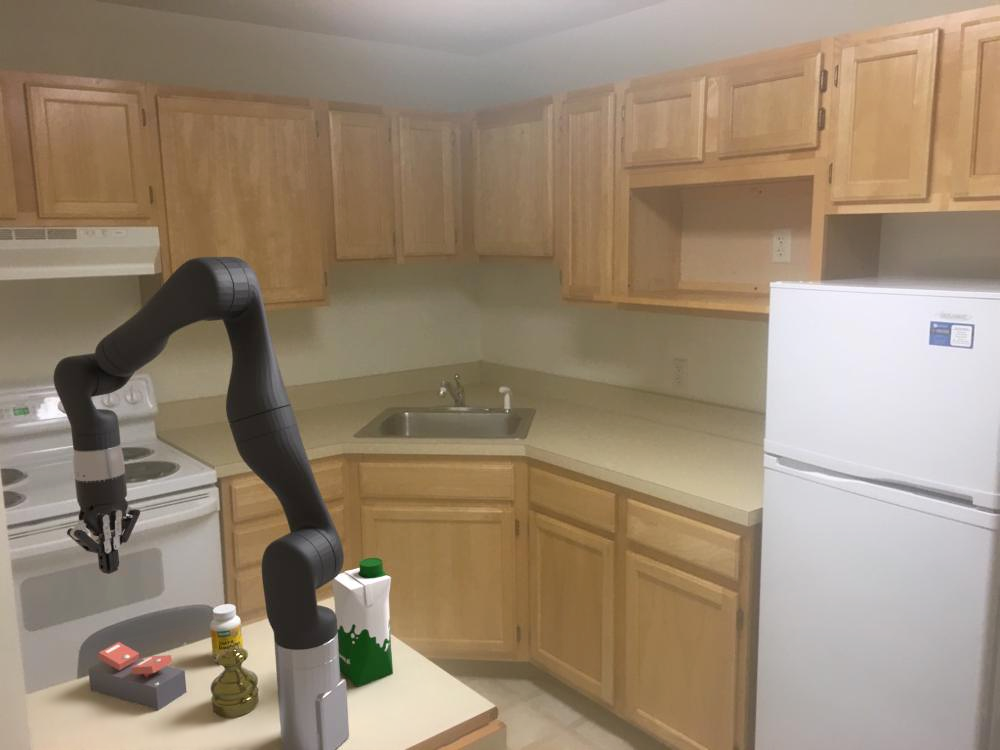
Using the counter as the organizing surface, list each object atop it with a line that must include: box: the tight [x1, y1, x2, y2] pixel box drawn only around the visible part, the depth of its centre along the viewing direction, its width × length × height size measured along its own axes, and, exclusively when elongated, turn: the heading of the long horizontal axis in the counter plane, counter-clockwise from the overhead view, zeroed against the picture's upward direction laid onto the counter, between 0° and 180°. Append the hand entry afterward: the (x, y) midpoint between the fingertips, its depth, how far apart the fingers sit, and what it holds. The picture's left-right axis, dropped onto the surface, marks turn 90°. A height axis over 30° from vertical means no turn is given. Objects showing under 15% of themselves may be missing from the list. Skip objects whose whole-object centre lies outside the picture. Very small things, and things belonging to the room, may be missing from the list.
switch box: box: [87, 657, 188, 711], centre depth 135 cm, size 16×6×4 cm, turn 65°
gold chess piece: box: [210, 647, 260, 718], centre depth 130 cm, size 7×7×10 cm
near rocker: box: [131, 654, 173, 677], centre depth 133 cm, size 5×4×2 cm
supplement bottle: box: [209, 603, 244, 663], centre depth 146 cm, size 5×5×10 cm
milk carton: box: [331, 557, 394, 688], centre depth 138 cm, size 9×9×20 cm
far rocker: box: [98, 641, 140, 670], centre depth 136 cm, size 5×4×2 cm
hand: (110, 571), depth 134 cm, fingers closed
